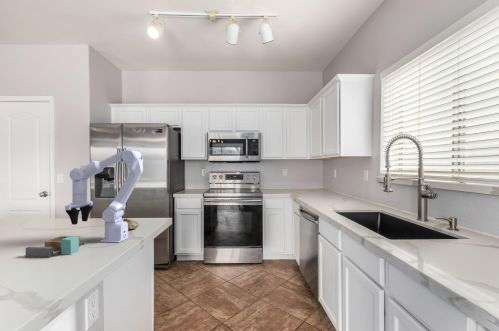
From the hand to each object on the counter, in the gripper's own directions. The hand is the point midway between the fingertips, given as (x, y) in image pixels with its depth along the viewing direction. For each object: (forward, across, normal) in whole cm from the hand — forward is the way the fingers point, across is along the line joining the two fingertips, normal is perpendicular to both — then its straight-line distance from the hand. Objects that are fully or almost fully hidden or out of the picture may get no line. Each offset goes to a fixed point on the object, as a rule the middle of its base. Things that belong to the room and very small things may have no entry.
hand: (79, 222), depth 115 cm
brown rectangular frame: (+8, +10, 0) cm, 13 cm away
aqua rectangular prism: (+8, +16, +8) cm, 20 cm away
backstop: (+8, +13, 0) cm, 15 cm away
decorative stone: (+9, -25, +10) cm, 28 cm away
